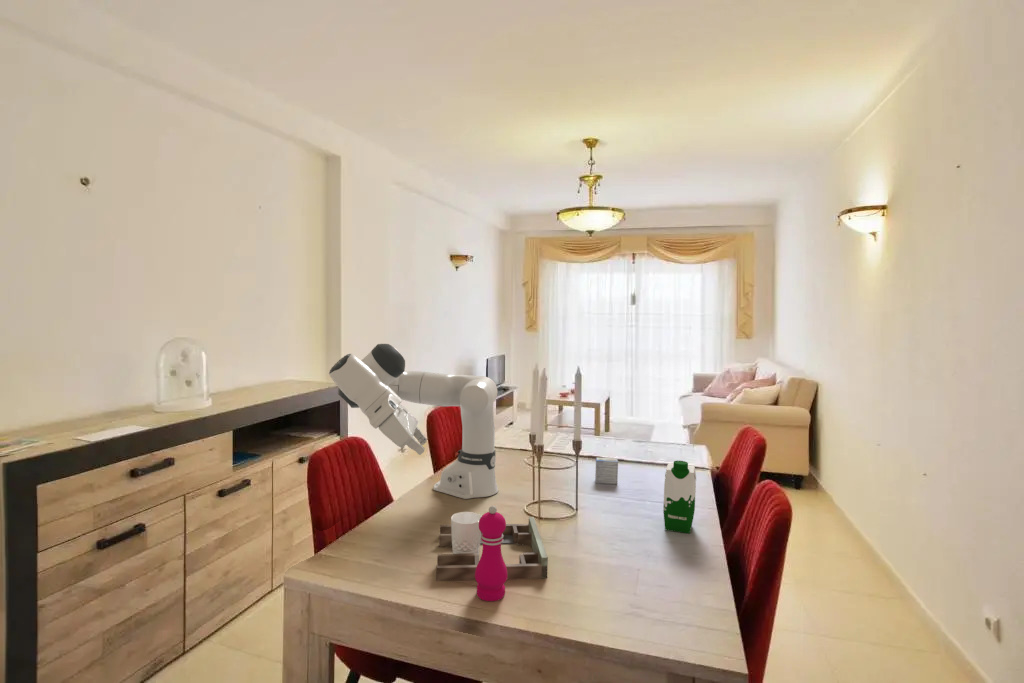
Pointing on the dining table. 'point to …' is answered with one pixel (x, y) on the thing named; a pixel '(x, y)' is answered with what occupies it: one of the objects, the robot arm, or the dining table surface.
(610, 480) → the medicine box
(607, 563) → the dining table surface
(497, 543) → the pepper mill
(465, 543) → the white cup
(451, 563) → the organizer tray
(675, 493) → the milk carton
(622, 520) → the dining table surface
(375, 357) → the robot arm
